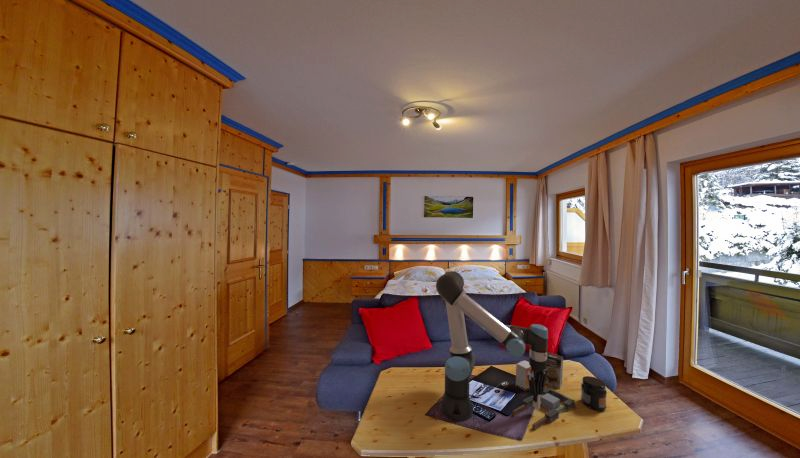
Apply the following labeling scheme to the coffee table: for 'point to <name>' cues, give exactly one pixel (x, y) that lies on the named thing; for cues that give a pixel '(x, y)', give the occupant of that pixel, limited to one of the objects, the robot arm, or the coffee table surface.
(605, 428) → the coffee table surface
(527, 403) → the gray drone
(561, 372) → the coffee box
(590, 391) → the supplement container
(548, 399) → the slate block
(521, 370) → the small box
